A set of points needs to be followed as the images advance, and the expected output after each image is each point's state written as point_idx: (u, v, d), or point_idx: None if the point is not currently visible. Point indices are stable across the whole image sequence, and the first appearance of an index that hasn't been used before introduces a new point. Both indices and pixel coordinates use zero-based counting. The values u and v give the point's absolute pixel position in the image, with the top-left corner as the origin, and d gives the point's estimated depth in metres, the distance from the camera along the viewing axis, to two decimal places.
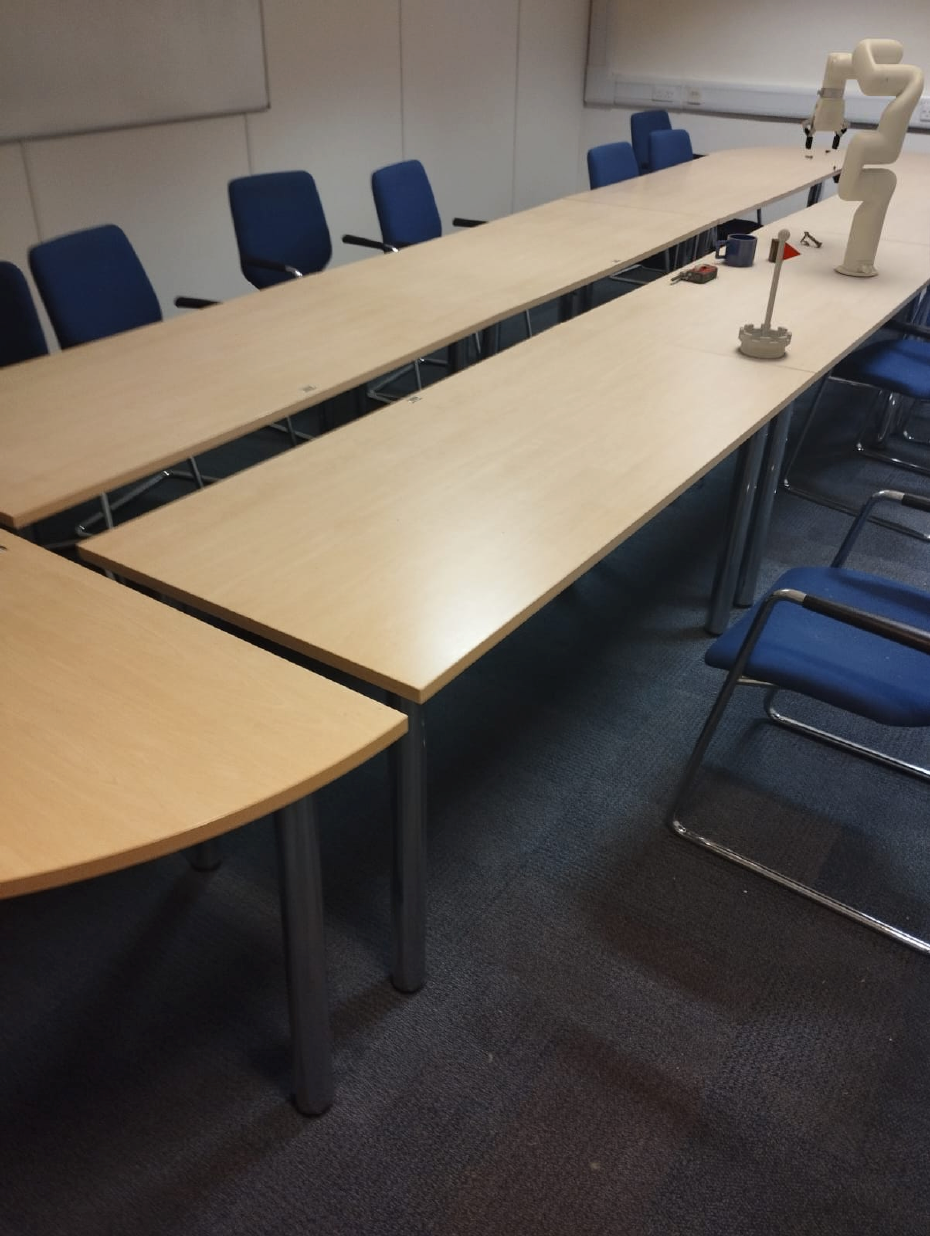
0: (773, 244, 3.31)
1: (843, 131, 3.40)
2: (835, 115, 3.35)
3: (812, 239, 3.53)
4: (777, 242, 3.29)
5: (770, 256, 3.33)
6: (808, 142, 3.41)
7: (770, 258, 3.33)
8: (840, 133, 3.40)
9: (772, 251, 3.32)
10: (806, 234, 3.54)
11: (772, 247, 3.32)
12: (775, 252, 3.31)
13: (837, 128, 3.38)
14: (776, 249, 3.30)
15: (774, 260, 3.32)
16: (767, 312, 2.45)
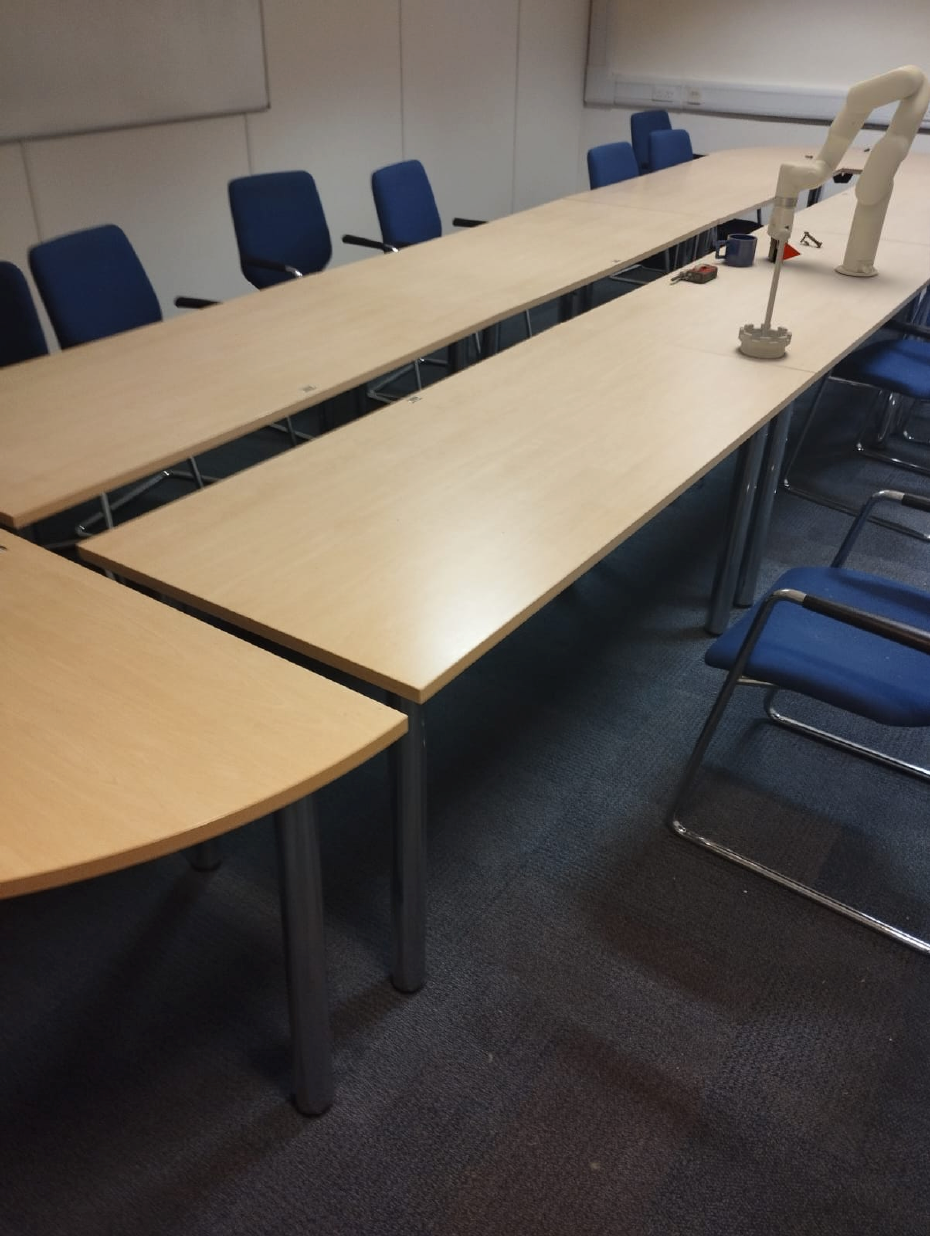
0: (773, 244, 3.31)
1: None
2: (775, 222, 3.26)
3: (812, 239, 3.53)
4: None
5: (770, 256, 3.33)
6: None
7: (770, 258, 3.33)
8: (776, 245, 3.29)
9: (772, 251, 3.32)
10: (806, 234, 3.54)
11: (772, 247, 3.32)
12: None
13: (775, 236, 3.27)
14: None
15: None
16: (767, 312, 2.45)
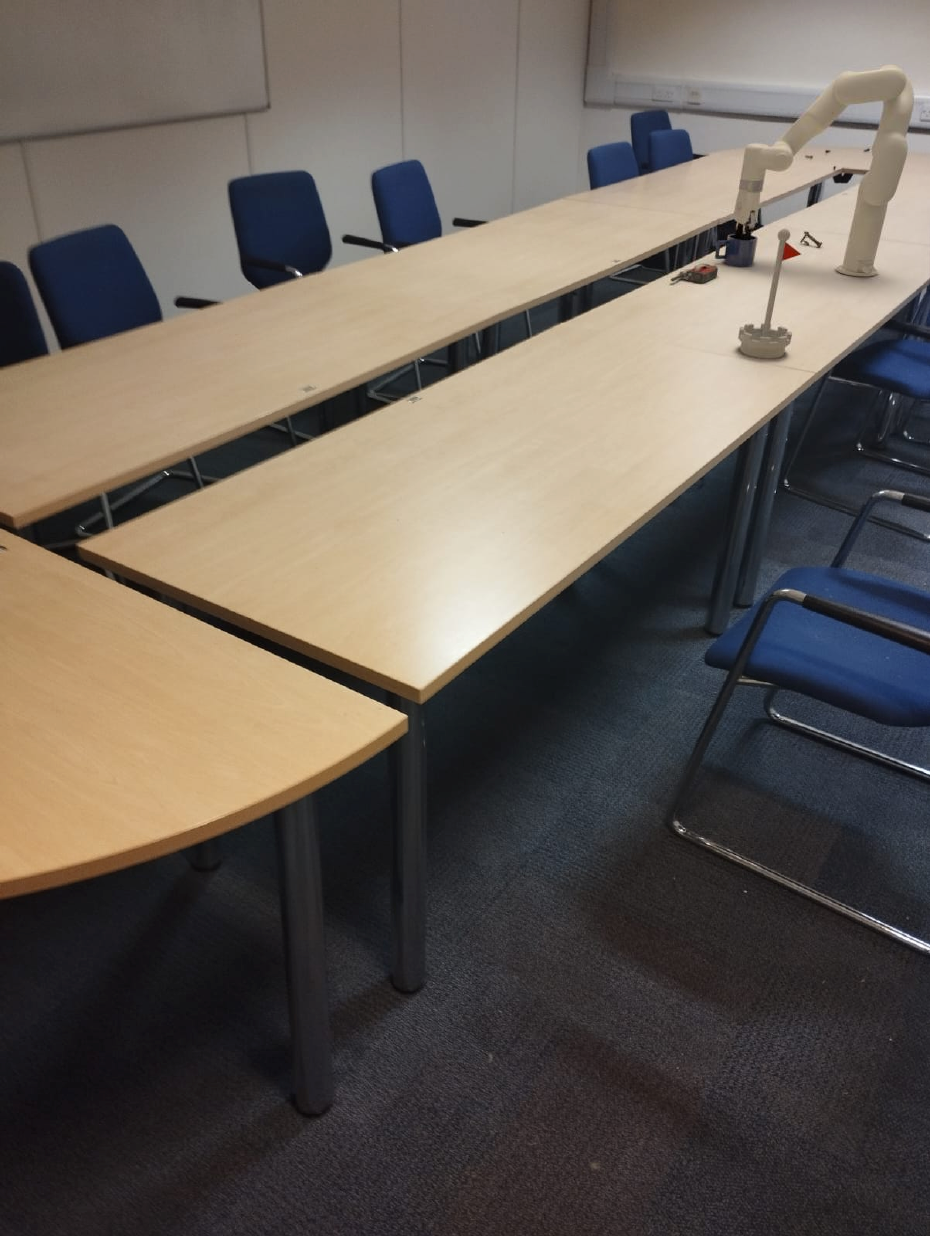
0: None
1: (746, 229, 3.20)
2: (741, 206, 3.19)
3: (812, 239, 3.53)
4: None
5: None
6: None
7: None
8: (743, 230, 3.21)
9: None
10: (806, 234, 3.54)
11: None
12: None
13: (740, 221, 3.20)
14: None
15: None
16: (767, 312, 2.45)
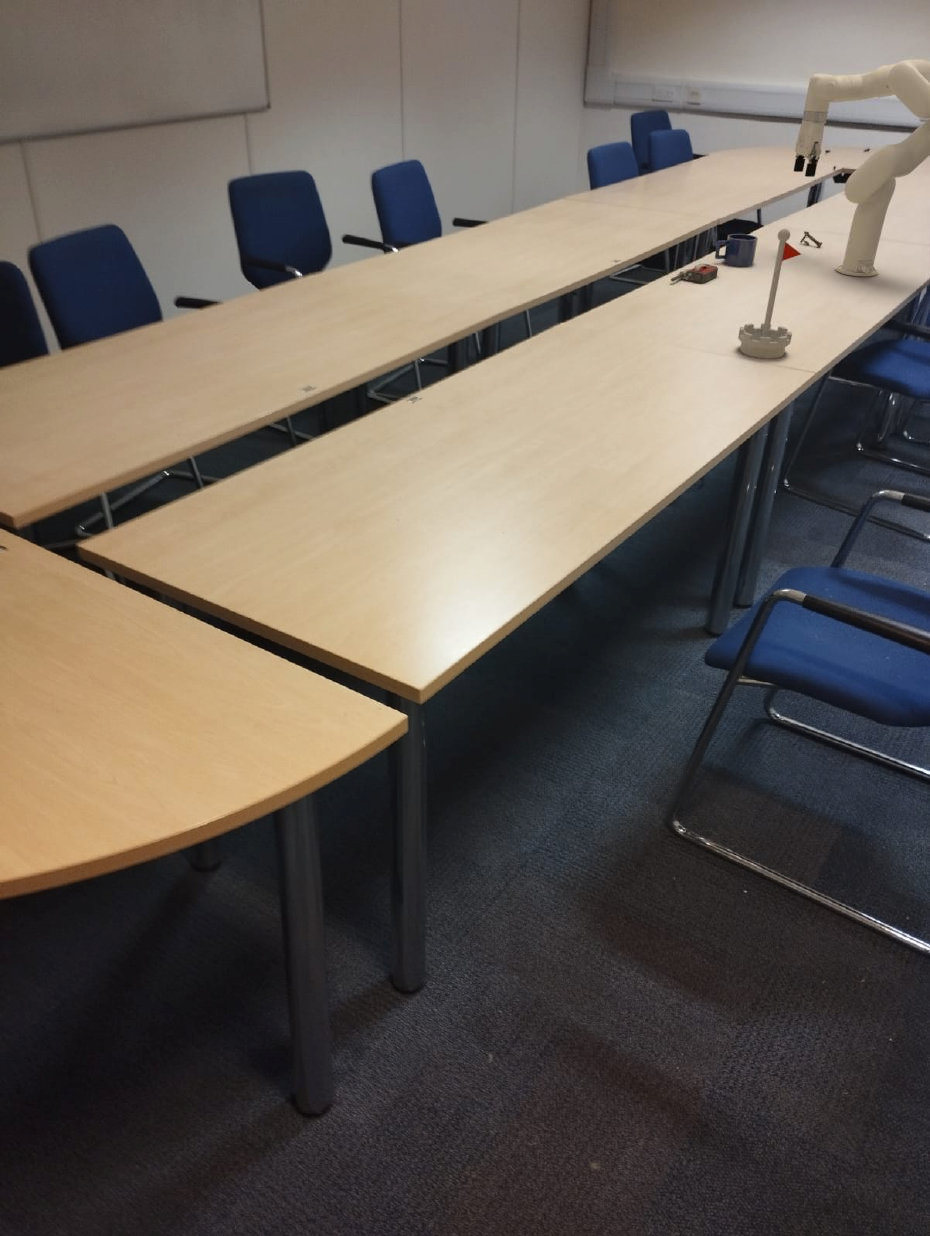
0: None
1: (812, 158, 3.19)
2: (804, 138, 3.20)
3: (812, 239, 3.53)
4: None
5: None
6: None
7: None
8: (809, 159, 3.20)
9: None
10: (806, 234, 3.54)
11: None
12: None
13: (803, 153, 3.21)
14: None
15: None
16: (767, 312, 2.45)
